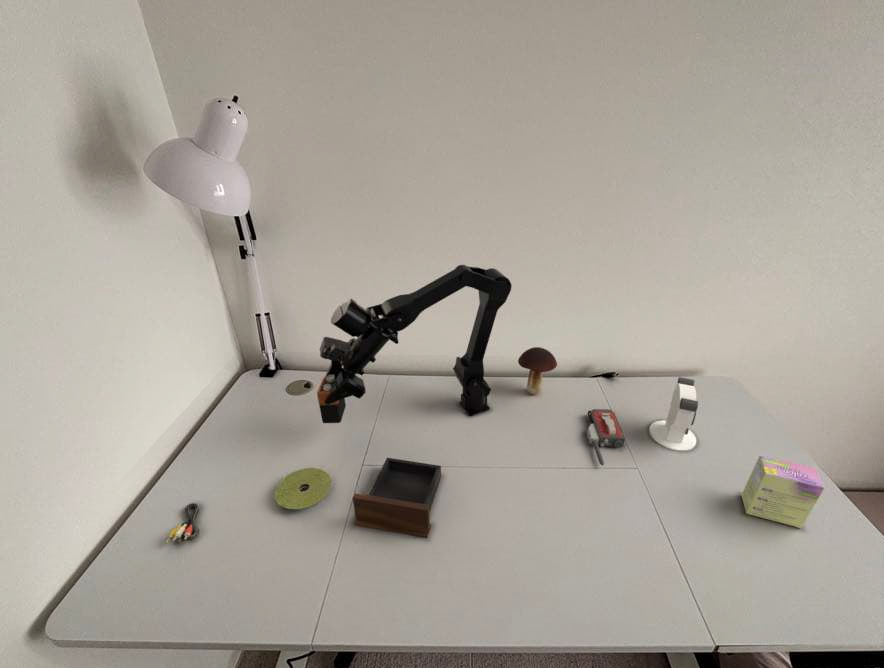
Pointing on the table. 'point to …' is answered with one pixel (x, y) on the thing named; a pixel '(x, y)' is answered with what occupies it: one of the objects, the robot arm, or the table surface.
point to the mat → (303, 488)
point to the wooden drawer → (399, 498)
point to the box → (782, 491)
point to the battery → (335, 409)
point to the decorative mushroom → (537, 366)
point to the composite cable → (186, 526)
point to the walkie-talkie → (604, 430)
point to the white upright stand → (678, 419)
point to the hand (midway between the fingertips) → (324, 393)
